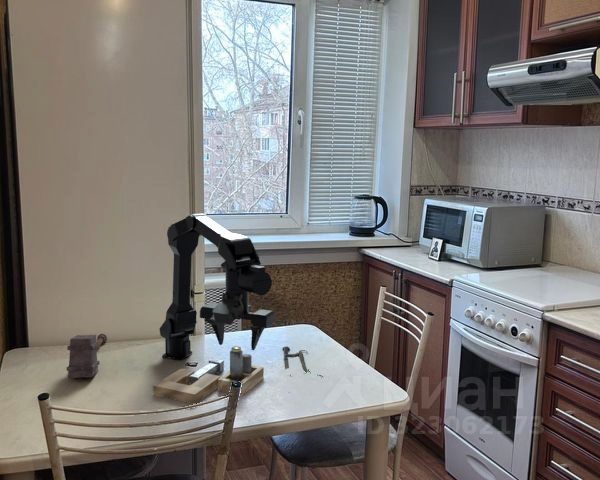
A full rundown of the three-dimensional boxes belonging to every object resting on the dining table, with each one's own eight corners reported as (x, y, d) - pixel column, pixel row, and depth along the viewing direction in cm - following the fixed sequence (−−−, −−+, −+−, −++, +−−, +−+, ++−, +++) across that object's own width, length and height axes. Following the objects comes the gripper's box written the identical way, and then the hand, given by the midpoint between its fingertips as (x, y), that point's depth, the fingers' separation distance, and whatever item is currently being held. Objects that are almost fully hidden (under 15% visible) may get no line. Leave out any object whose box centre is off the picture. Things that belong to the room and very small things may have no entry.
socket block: (153, 394, 143) (153, 385, 143) (181, 377, 154) (181, 368, 154) (195, 404, 139) (195, 394, 138) (220, 385, 150) (220, 376, 149)
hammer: (65, 378, 149) (66, 339, 149) (92, 356, 181) (92, 324, 181) (93, 377, 150) (93, 338, 150) (114, 356, 182) (114, 324, 182)
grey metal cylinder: (227, 386, 147) (227, 349, 146) (233, 381, 150) (233, 344, 149) (238, 388, 146) (238, 350, 144) (244, 383, 149) (244, 346, 147)
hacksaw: (282, 350, 178) (282, 345, 177) (315, 349, 178) (315, 345, 178) (285, 382, 154) (285, 377, 154) (324, 381, 155) (324, 376, 154)
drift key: (188, 384, 150) (187, 374, 149) (212, 367, 161) (212, 358, 160) (199, 386, 148) (199, 376, 148) (223, 370, 160) (223, 360, 159)
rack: (217, 390, 147) (217, 365, 146) (240, 373, 158) (240, 349, 156) (242, 395, 144) (242, 369, 143) (263, 378, 155) (263, 353, 154)
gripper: (187, 290, 140) (187, 351, 143) (256, 299, 133) (255, 364, 136) (211, 280, 150) (211, 338, 153) (276, 288, 143) (275, 348, 146)
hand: (237, 347), depth 146 cm, fingers open, 9 cm apart
